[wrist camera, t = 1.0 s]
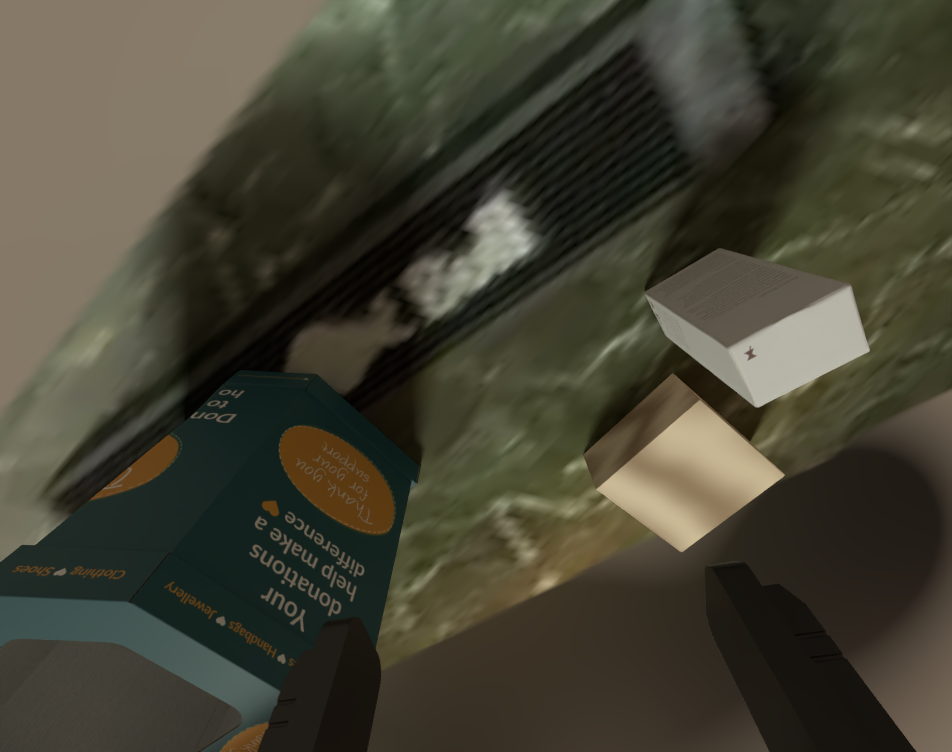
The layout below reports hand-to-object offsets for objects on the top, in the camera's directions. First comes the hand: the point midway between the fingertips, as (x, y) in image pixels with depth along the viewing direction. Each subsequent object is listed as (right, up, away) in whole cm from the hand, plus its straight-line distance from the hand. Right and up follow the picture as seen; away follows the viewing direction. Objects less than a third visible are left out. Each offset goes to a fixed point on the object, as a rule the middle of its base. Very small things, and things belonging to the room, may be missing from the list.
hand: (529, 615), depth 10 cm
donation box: (-18, -2, +29) cm, 34 cm away
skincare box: (+15, +12, +23) cm, 29 cm away
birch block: (+15, 0, +28) cm, 32 cm away
